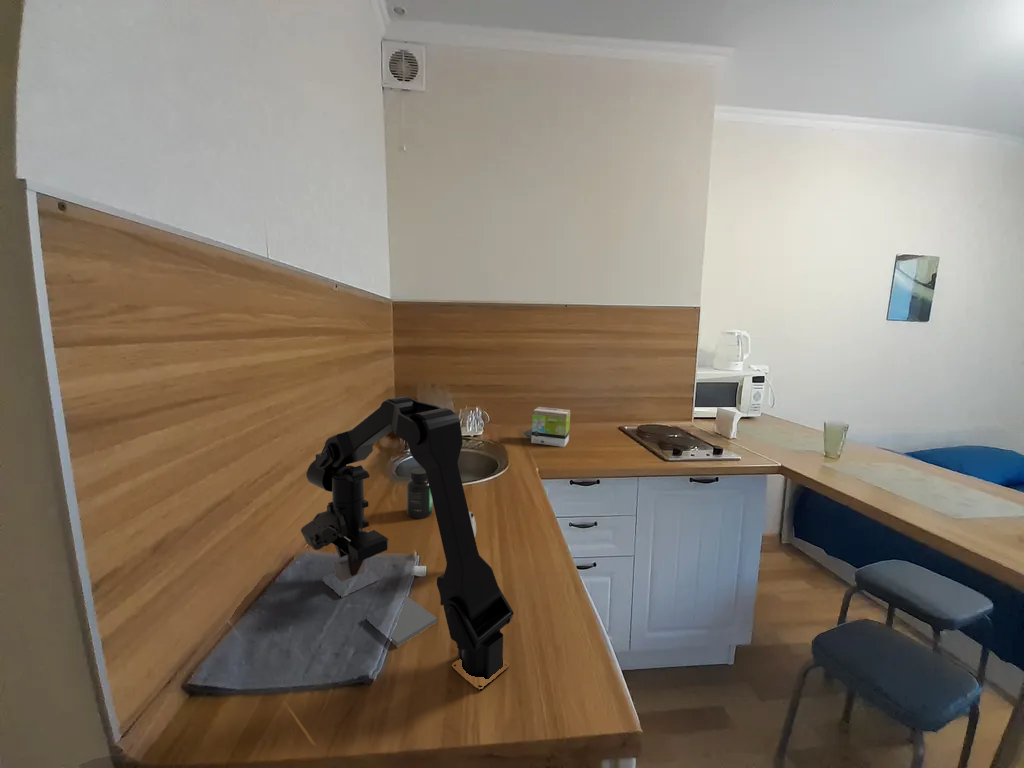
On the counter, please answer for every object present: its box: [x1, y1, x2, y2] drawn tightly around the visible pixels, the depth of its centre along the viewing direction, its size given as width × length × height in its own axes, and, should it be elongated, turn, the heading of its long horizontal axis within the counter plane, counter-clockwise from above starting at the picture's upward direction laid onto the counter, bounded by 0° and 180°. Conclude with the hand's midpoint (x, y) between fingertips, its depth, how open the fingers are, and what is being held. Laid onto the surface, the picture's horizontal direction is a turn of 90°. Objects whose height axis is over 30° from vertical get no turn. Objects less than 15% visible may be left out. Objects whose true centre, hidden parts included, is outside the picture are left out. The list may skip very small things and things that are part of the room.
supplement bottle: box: [406, 467, 434, 520], centre depth 118 cm, size 7×7×12 cm
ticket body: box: [391, 595, 438, 646], centre depth 76 cm, size 9×8×1 cm
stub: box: [334, 555, 366, 582], centre depth 87 cm, size 8×8×5 cm
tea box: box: [530, 406, 571, 448], centre depth 191 cm, size 15×10×15 cm
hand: (350, 572), depth 87 cm, fingers closed on stub, 2 cm apart
